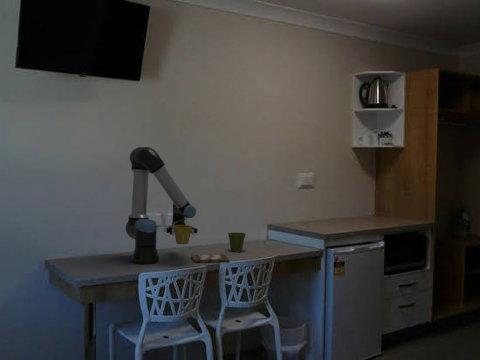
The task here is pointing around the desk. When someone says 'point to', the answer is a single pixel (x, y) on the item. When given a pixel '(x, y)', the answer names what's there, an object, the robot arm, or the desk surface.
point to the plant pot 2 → (236, 241)
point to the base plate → (209, 258)
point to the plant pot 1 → (182, 233)
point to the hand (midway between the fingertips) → (183, 232)
